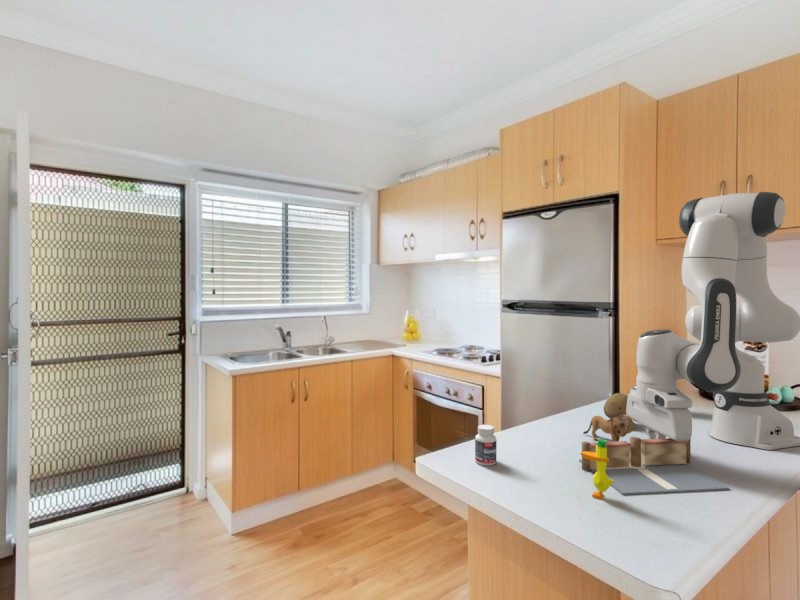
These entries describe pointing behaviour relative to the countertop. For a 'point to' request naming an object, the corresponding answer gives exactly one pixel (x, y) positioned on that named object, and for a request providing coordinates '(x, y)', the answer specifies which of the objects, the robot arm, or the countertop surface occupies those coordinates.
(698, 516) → the countertop surface
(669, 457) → the fence panel
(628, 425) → the lion figurine
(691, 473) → the board
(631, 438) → the fence section
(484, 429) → the pill bottle
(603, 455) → the toy figure
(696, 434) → the countertop surface
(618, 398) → the natural sponge
